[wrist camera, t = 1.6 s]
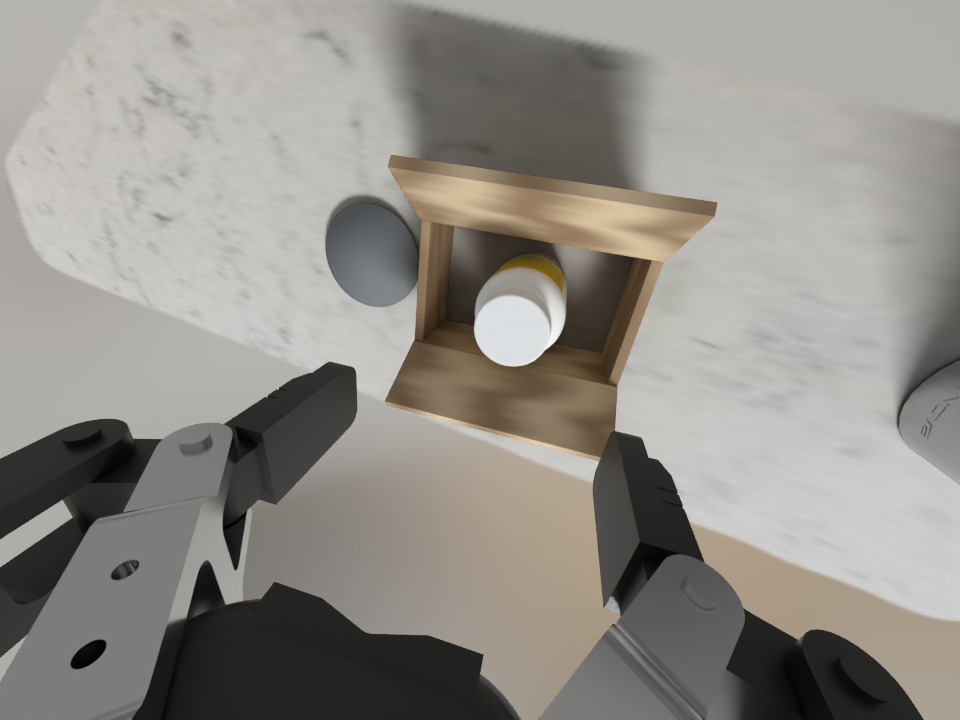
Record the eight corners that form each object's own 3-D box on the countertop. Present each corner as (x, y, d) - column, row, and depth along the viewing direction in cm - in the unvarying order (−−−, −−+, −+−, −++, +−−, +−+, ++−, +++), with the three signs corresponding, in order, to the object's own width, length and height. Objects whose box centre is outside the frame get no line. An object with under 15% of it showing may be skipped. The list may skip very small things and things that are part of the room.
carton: (662, 201, 22) (720, 202, 13) (598, 388, 28) (610, 467, 20) (451, 169, 24) (387, 154, 16) (435, 350, 30) (384, 407, 22)
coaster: (422, 212, 26) (419, 212, 25) (417, 313, 29) (414, 315, 29) (327, 196, 27) (322, 196, 26) (332, 295, 30) (328, 297, 30)
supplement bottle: (488, 261, 26) (447, 292, 17) (559, 242, 24) (554, 265, 16) (505, 327, 28) (476, 384, 19) (573, 314, 26) (575, 370, 18)
